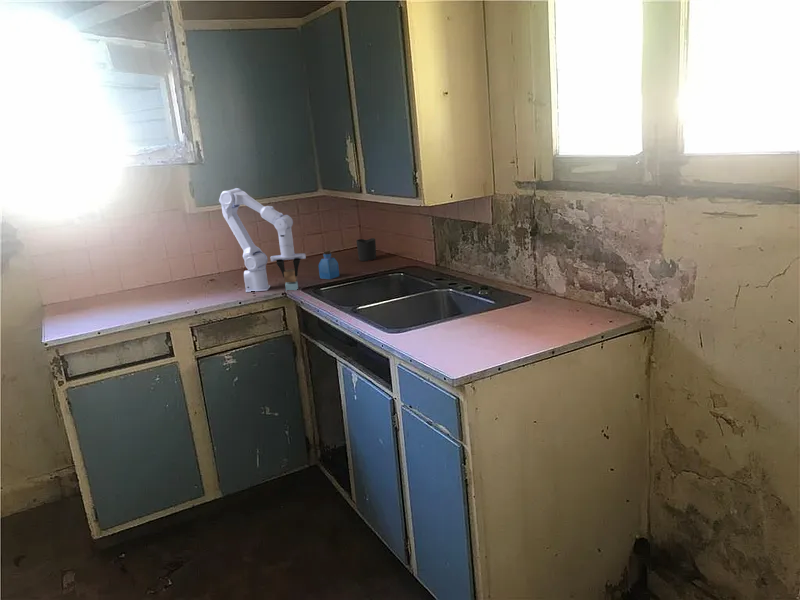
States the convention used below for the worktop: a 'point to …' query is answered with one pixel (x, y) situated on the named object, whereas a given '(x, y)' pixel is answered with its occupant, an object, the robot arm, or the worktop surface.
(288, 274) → the walnut cube
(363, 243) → the pen holder
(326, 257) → the perfume bottle
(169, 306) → the worktop surface
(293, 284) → the blue block
